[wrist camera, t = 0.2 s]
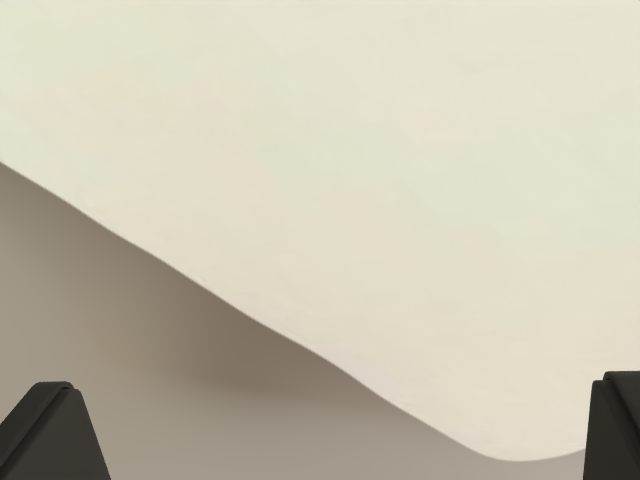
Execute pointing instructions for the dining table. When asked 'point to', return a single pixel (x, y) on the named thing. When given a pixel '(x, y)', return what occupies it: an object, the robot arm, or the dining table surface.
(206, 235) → the dining table surface
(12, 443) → the robot arm
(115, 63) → the dining table surface
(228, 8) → the dining table surface
